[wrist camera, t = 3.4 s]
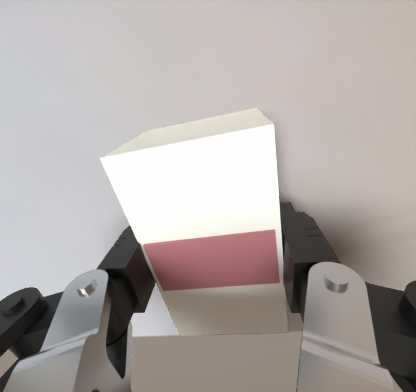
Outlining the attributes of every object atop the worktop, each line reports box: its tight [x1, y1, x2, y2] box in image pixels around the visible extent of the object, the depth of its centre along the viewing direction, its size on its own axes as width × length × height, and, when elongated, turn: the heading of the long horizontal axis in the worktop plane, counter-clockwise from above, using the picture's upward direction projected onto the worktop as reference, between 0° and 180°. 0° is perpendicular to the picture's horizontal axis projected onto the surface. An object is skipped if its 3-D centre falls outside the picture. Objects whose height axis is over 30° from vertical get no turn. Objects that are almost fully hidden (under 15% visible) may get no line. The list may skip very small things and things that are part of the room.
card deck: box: [100, 108, 288, 336], centre depth 10 cm, size 5×9×4 cm, turn 12°
